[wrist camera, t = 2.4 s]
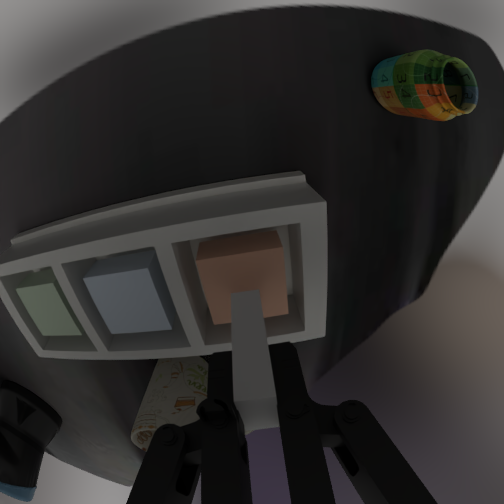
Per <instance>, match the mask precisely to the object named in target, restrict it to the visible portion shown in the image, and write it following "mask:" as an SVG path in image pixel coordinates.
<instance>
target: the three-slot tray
mask: <svg viewBox="0 0 504 504" xmlns="http://www.w3.org/2000/svg"><path fill="white" fill-rule="evenodd" d="M275 230H277V233H278V235H279V238H280V241H281V243H282V246H283V252H284V263H285V275H286V287H287V300H288V313H289V314H284V315H278V316H272V317H266V318H264V323H265V329H266V335H267V342H268V345H270V344H276V343H282V342H288V341H290V342H291V343H294V342H299V341H305V340H310V339H315V338H320V337H324V336H325V329H326V307H327V205H326V201H325V200H324V199H323V198H322V197H321V196H320V195H319V194H318V193H317V192H316V191H315V190H314V189H313V188H312V187H310V186H309V185H308V184H307V183H306V179H305V175H304V174H303V173H302V172H301V171H293V172H285V173H277V174H269V175H262V176H255V177H248V178H241V179H235V180H229V181H223V182H217V183H211V184H206V185H200V186H195V187H190V188H184V189H179V190H175V191H170V192H165V193H160V194H156V195H151V196H147V197H143V198H138V199H134V200H130V201H126V202H122V203H118V204H114V205H110V206H106V207H102V208H99V209H95V210H91V211H88V212H84V213H81V214H77V215H74V216H71V217H67V218H64V219H61V220H57V221H54V222H51V223H48V224H45V225H42V226H39V227H36V228H33V229H30V230H27V231H24V232H21V233H19V234H17V235H16V236H15V237H14V238H12V239H11V240H10V241H11V243H12V246H10V247H9V248H8V249H7V250H6V251H5V252H4V253H2V254H1V255H0V297H1V299H2V301H3V303H4V304H5V306H6V308H7V310H8V311H9V313H10V315H11V316H12V318H13V320H14V321H15V323H16V324H17V326H18V327H19V329H20V331H21V332H22V334H23V335H24V337H25V338H26V339H27V341H28V342H29V344H30V345H31V347H32V348H33V349H34V351H35V352H36V353H37V355H38V356H39V357H46V358H61V359H86V360H133V359H159V358H175V357H188V356H200V355H210V354H213V352H222V351H231V350H232V331H231V323H225V324H217V325H214V323H213V320H212V316H211V313H210V310H209V306H208V303H207V299H206V296H205V293H204V289H203V286H202V282H201V278H200V275H199V271H198V267H197V264H196V257H197V252H198V247H199V243H200V242H205V241H211V240H217V239H223V238H229V237H236V236H242V235H249V234H255V233H261V232H268V231H275ZM151 250H156V254H157V257H158V260H159V263H160V266H161V269H162V272H163V275H164V278H165V280H166V283H167V286H168V289H169V292H170V294H171V297H172V300H173V303H174V305H175V308H176V313H175V318H174V322H173V327H172V330H161V331H149V332H136V333H120V334H111V332H110V330H109V329H108V327H107V325H106V323H105V321H104V320H103V318H102V316H101V314H100V312H99V310H98V308H97V306H96V304H95V303H94V301H93V299H92V297H91V295H90V292H89V290H88V288H87V286H86V284H85V282H84V280H83V277H84V276H85V275H86V273H87V272H88V271H89V269H90V268H91V267H92V265H93V264H94V263H95V261H96V260H101V259H107V258H112V257H118V256H123V255H129V254H134V253H140V252H146V251H151ZM49 269H52V270H53V272H54V274H55V276H56V278H57V280H58V282H59V284H60V286H61V288H62V290H63V292H64V294H65V296H66V298H67V300H68V302H69V304H70V306H71V307H72V309H73V311H74V313H75V315H76V316H77V318H78V320H79V321H80V323H81V325H82V327H83V328H84V332H83V334H82V335H58V336H45V335H42V333H41V332H40V330H39V329H38V327H37V326H36V324H35V322H34V321H33V319H32V318H31V316H30V314H29V313H28V311H27V309H26V307H25V306H24V304H23V302H22V300H21V299H20V297H19V295H18V293H17V291H16V288H17V286H18V285H19V284H20V283H21V282H22V281H23V280H24V279H25V277H26V276H27V275H28V274H29V273H34V272H39V271H44V270H49Z"/></svg>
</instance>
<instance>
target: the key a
mask: <svg viewBox="0 0 504 504" xmlns="http://www.w3.org/2000/svg"><path fill="white" fill-rule="evenodd" d="M16 291H17V293H18V295H19V297H20V299H21V300H22V302H23V304H24V306H25V307H26V309H27V311H28V313H29V314H30V316H31V318H32V319H33V321H34V322H35V324H36V326H37V327H38V329H39V330H40V332H41V333H42V335H45V336H58V335H82V334H83V332H84V328H83V327H82V325H81V323H80V321H79V320H78V318H77V316H76V315H75V313H74V311H73V309H72V307H71V306H70V304H69V302H68V300H67V298H66V296H65V294H64V292H63V290H62V288H61V286H60V284H59V282H58V280H57V278H56V276H55V274H54V272H53V270H52V269H49V270H44V271H39V272H34V273H29V274H28V275H27V276H26V277H25V279H24V280H23V281H22V282H21V283H20V284H19V285H18V286H17V288H16Z"/></svg>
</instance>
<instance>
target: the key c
mask: <svg viewBox="0 0 504 504" xmlns="http://www.w3.org/2000/svg"><path fill="white" fill-rule="evenodd" d="M196 264H197V267H198V271H199V275H200V278H201V282H202V286H203V289H204V293H205V296H206V299H207V303H208V306H209V310H210V313H211V316H212V320H213V323H214V325H217V324H225V323H231V293H237V292H244V291H250V290H257V289H259V292H260V298H261V305H262V311H263V317H264V318H266V317H272V316H278V315H284V314H289V313H288V300H287V287H286V275H285V263H284V252H283V246H282V243H281V241H280V238H279V235H278V233H277V230H275V231H268V232H261V233H255V234H249V235H242V236H236V237H229V238H223V239H217V240H211V241H205V242H200V243H199V247H198V252H197V257H196Z"/></svg>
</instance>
